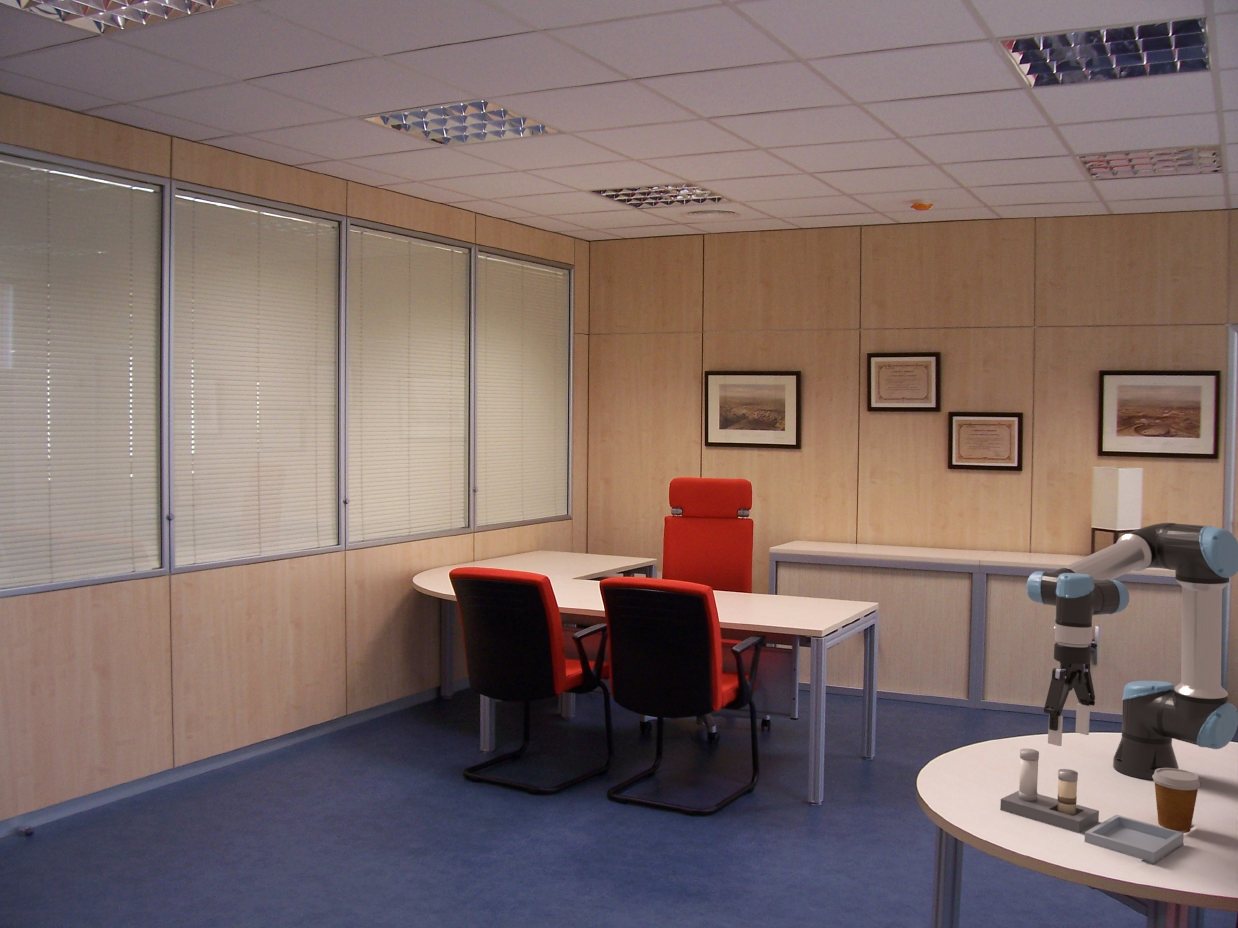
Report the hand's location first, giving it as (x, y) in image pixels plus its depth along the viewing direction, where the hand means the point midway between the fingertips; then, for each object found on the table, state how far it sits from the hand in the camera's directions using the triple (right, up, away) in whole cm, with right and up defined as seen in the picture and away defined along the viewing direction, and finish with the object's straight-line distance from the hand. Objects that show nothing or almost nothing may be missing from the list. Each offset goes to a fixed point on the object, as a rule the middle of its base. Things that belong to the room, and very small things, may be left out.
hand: (1068, 738), depth 239 cm
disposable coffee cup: (+23, -20, -1) cm, 30 cm away
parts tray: (+9, -20, -11) cm, 24 cm away
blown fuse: (0, -18, +1) cm, 18 cm away
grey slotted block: (-3, -19, +4) cm, 19 cm away
